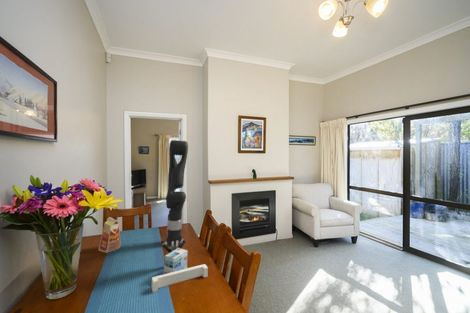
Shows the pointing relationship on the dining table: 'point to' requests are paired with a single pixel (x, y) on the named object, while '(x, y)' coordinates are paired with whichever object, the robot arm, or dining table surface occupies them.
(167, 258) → the light bulb box
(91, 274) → the dining table surface
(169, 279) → the board
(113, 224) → the milk carton
